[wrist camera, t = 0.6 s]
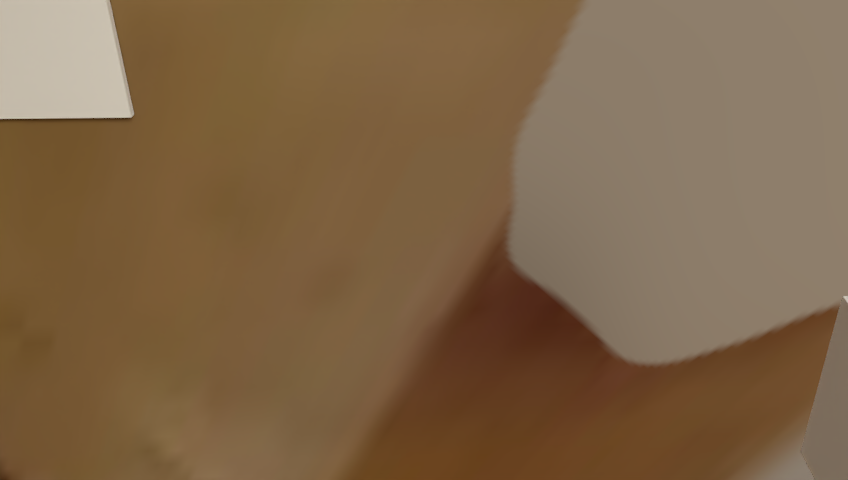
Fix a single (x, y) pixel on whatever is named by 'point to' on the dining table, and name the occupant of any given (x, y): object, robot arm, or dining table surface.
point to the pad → (61, 61)
